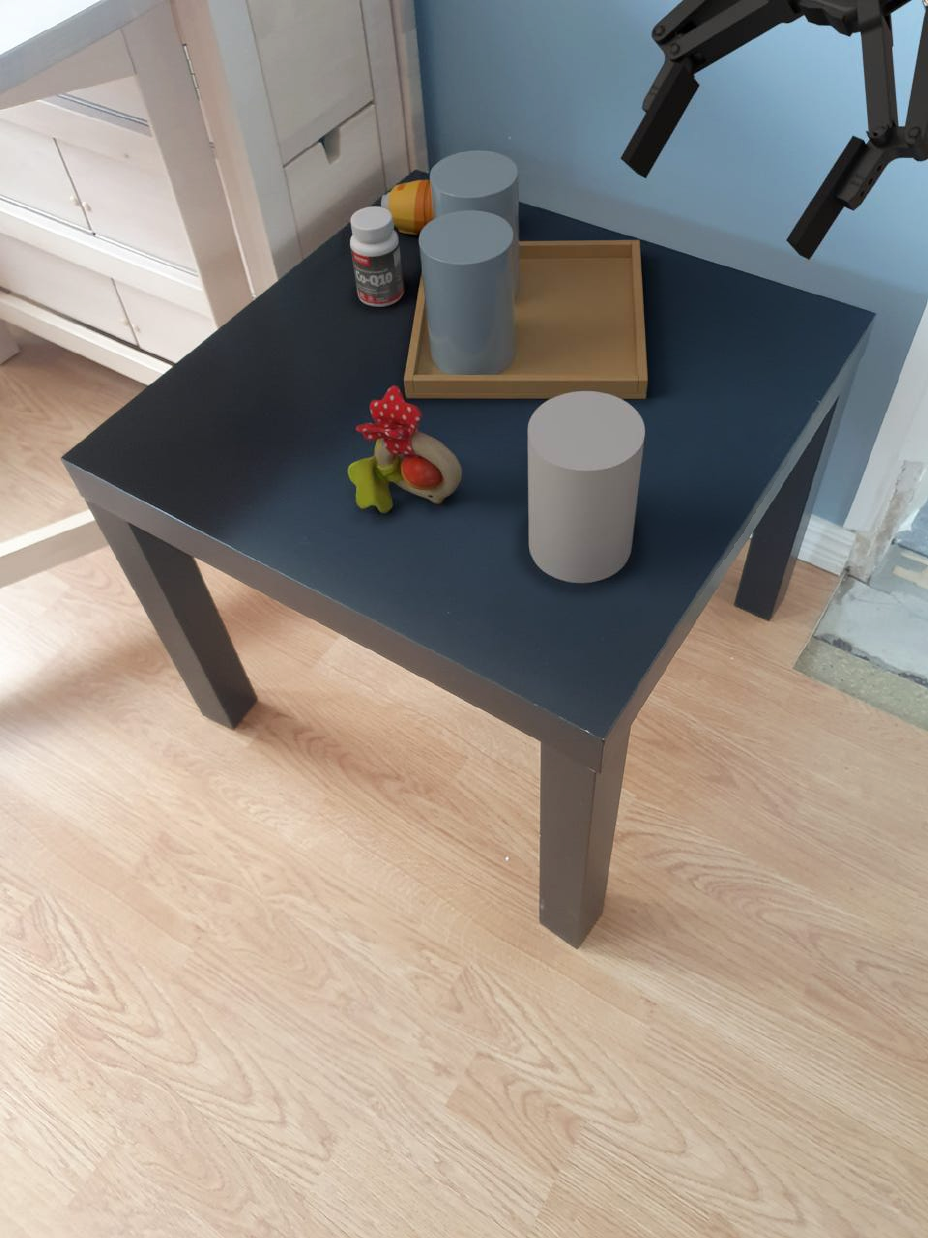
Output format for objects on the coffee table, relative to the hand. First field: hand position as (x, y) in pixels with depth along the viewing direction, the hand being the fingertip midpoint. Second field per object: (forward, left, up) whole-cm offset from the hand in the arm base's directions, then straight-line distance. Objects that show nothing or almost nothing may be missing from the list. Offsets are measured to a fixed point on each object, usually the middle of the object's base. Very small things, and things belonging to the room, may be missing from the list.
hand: (710, 207), depth 64 cm
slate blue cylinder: (+18, -15, -23) cm, 33 cm away
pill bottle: (+28, -25, -24) cm, 45 cm away
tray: (+13, -20, -24) cm, 34 cm away
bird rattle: (+22, +3, -24) cm, 32 cm away
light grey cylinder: (+8, +8, -24) cm, 26 cm away
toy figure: (+23, -36, -24) cm, 49 cm away
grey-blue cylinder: (+18, -25, -23) cm, 39 cm away
